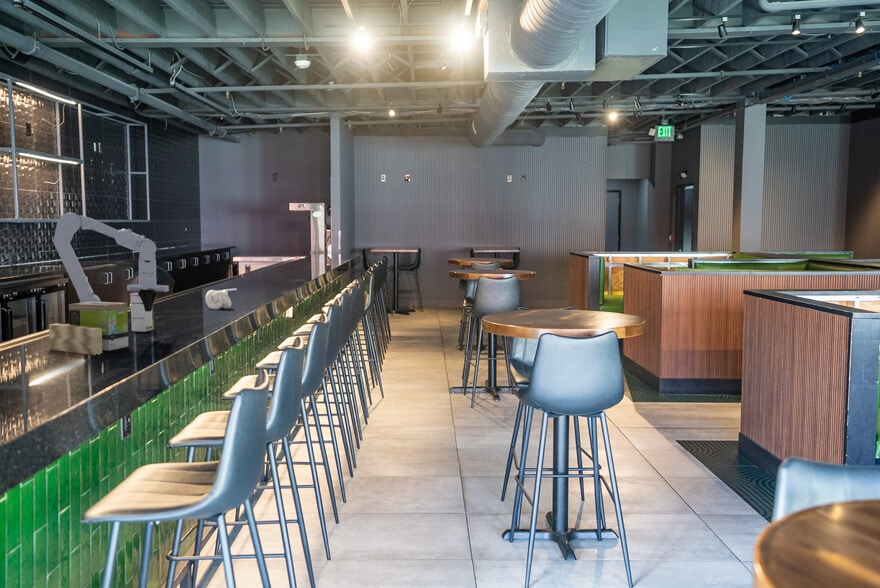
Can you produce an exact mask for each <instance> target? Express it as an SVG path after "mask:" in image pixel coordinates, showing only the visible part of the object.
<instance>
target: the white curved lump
mask: <svg viewBox="0 0 880 588" xmlns="http://www.w3.org/2000/svg"><path fill="white" fill-rule="evenodd" d="M228 291H229V290H227V289H223V290H215V289H210V290H208V291H207V292H206V294H205V297H204V298H205V303H206V305H207V306H208V307H209V308H210V309H212V310H220V309H221V308H224V309H230V308H231V307H232V300H231V298H230V296H229V295H228V294H229V292H228Z"/></svg>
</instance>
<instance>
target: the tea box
mask: <svg viewBox="0 0 880 588" xmlns="http://www.w3.org/2000/svg"><path fill="white" fill-rule="evenodd" d="M128 319H129V316H128V302H113V301H112V302H110V301H109V302H108V301H101V302H82V303H80V302H76V303H70V304H68V323H69V324H68V325H77V326H86V327H96V328H102V351H115V350H119V349H123V348H127V347H129V323H128V322H129V320H128Z"/></svg>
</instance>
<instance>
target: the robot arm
mask: <svg viewBox="0 0 880 588" xmlns="http://www.w3.org/2000/svg"><path fill="white" fill-rule="evenodd" d="M80 229H81V230H93V231H94V232H98V233H101V234H103V235H105V236H107V237H110V238H113V239H114V240H115V242H116V244H118V245H120V246H121V247H125V248H127V249H130V250H132V251H134V252H136V251H138V252H139V255H138V256H139V258H138V284H127V285H126V291H138V292H137V293H138V295H139V297H140V298H141V300H142V302H143V305H144V308H145V311H146V312H149V311H152V306H153V307H154V302H155V301H156V300H155V299H156V298H157V295H158V294H159V292H165V293H166V292H169V291H170V289H169V287H170V286H169V285H160V284H157V259H156V258H157V256H156V252H157V250H158V249H157V245H156V243H155V241H153V240H151V239H150V238H148V237H147V238H146V236H145V235H143V234H141V235H140V234H137V233H135V232H133V230H132V229H130V228H127V229H126V228H121V229H116V228H113V227H112V226H110V225H108V224H105V223H103V222H101V221H98V220H97V219H94V218H91V217H88V216H84V215H81V214H79V215H78V214H77V213H75V212H66V213H63V214H62V215H61V217H60V218H59V219H58V221H57V222H56V227H55V232H54V235H53V236H54V237H53V241H52V242H53V244H54V247H55V249H56V252H57V253H58V255H59V257H60V259H61V262H62V263H63V266H64V267H65V270H66V272H67V274H68V276H69V279H70V281H71V282H72V284H73V287H74V289H75V291H76V294H77V297H78V299H79V303H82V302H102V301H101V299H100V297H99V295H97V294H95V292H94V291H93V289H92V287H91V285H90V283H89V281H88V278H87V275H85V272H84V270H83V268H82V266H81V264H80V261H79V259H78V257H77V255H76V253H75V251H74V248H73V247H72V245H71V241H72V239H73V238H74V234H75V233H76V232H77V231H78V230H80Z"/></svg>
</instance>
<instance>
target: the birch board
mask: <svg viewBox="0 0 880 588" xmlns="http://www.w3.org/2000/svg"><path fill="white" fill-rule="evenodd" d="M48 327H49V330H48V332H49V350H52V351H61V352H66V351H67V353H74V352H75V353H74V354H83V355H90V354H91V356H96V354H97V355H101V353H102V354H103V350H102V328H96V327H86V326H77V325H69V324H67V323H51V324H48Z"/></svg>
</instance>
